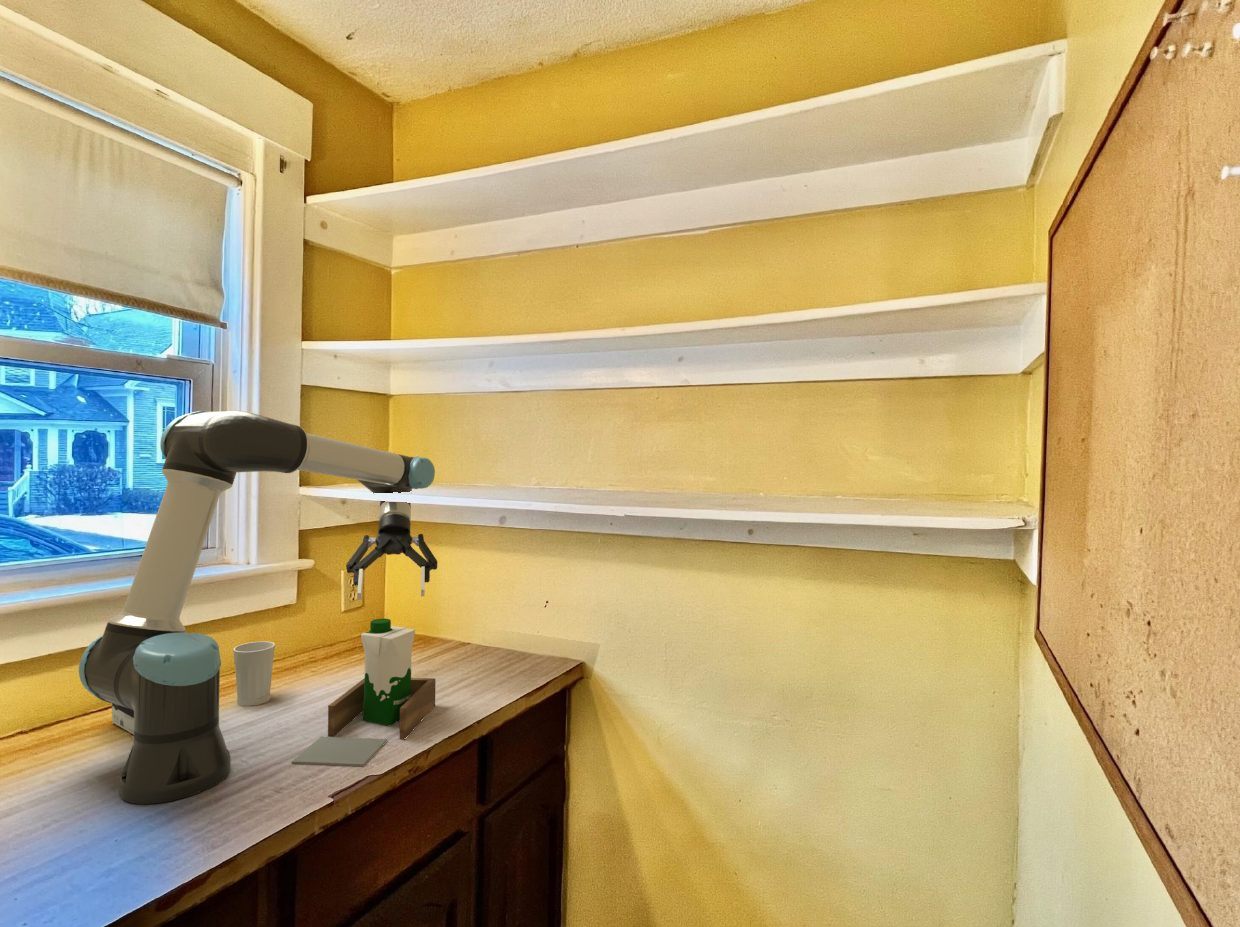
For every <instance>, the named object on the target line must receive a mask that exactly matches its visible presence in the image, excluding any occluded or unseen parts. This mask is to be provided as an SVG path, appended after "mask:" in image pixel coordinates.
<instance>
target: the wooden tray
mask: <svg viewBox="0 0 1240 927" xmlns="http://www.w3.org/2000/svg"><path fill="white" fill-rule="evenodd" d="M364 679H365V677H364V678H363V679H362V680H360V681H359V682H357V683H356V684H355V685H353V686H352V687H351V688H349V689H348V690H347V691H346V692H344V693H343V694H341V696H339V697H338V698H336V699H335V700H334V701H332V702H331V703H330V704H328V705H327V708H328V709H327V737H336V735H338V734H339V733H340V732H341V731H342V730H343V729H344V728H345V727H347V726H348V725H349V724H350V723H351V722H352V721H354V720H355V719H356V718H357V717H358V716H360V714H362V713H363V705H364ZM434 706H436V678H427V677H411V698H410V699H409V700H408V701H407V702H406V703H405V704H404V705H403V706H402V707H401V708H400V721H399V740H405V739H404V738H406V737H407V736H408V735H409V734H410V733H411V732H412V731H413V732H414V730H415V729H416V728H417V727H418V726H419V725H420V724H421V723H422V721H423V720H424V719H425V718H426V717H427V716H428V715H429V713H431V711H432V710H433V709H434V708H435V707H434ZM433 707H434V708H433ZM431 709H432V710H431ZM430 710H431V711H430ZM361 712H362V713H361ZM427 714H428V715H427ZM426 715H427V716H426ZM425 716H426V717H425ZM424 717H425V718H424ZM354 718H355V719H354ZM423 718H424V719H423ZM353 719H354V720H353ZM422 719H423V720H422ZM421 720H422V721H421ZM419 723H420V724H419ZM418 724H419V725H418ZM417 725H418V726H417ZM416 726H417V727H416ZM415 727H416V728H415ZM414 728H415V729H414ZM413 729H414V730H413ZM413 732H412V733H413ZM337 733H338V734H337ZM412 733H411V734H412ZM411 734H410V735H411ZM410 735H409V736H410ZM409 736H408V737H409ZM408 737H407V738H408ZM407 738H406V739H407Z"/></svg>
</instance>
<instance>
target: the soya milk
mask: <svg viewBox="0 0 1240 927" xmlns="http://www.w3.org/2000/svg"><path fill="white" fill-rule="evenodd" d="M391 624H392V621H391V619H390V618H376V619H372V620H370V628H369V629H370V630H368V631H366V632H364V633H361V635H360V637H361V642H362V648H363V651H364V652H363V653H364V678H365V679H364V678H363V679H364V705H363V712H362V717H361V718H362V719H361V720H362V721H363V722H367V723H372V722H373V724H377V725H383V726H387V725H391V726H392V724H393V725H394V724H396V723H398V722H400V721H399V720H400V708H401V707H402V706H403V705H404V704H405V703H406V702H407V701H408V700H409V699H410V698H411V678H412V652H413V645H414V638H415V634H416V629H412V628H406V627H403V626H401V627H400V626H394V625H391Z"/></svg>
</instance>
